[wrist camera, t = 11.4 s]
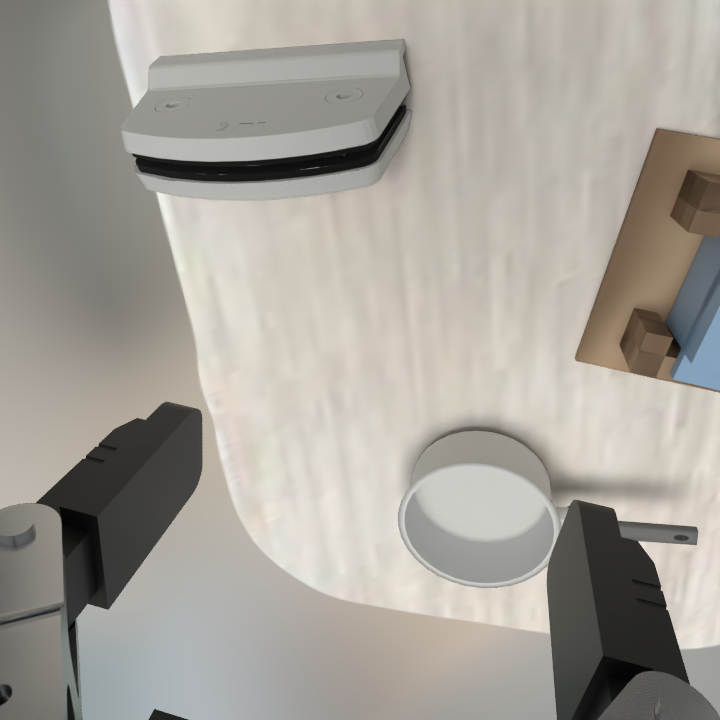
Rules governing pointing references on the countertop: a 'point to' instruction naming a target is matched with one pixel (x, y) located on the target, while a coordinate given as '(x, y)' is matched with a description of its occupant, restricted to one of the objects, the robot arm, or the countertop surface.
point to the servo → (699, 319)
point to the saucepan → (492, 512)
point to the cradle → (655, 257)
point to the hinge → (270, 121)
